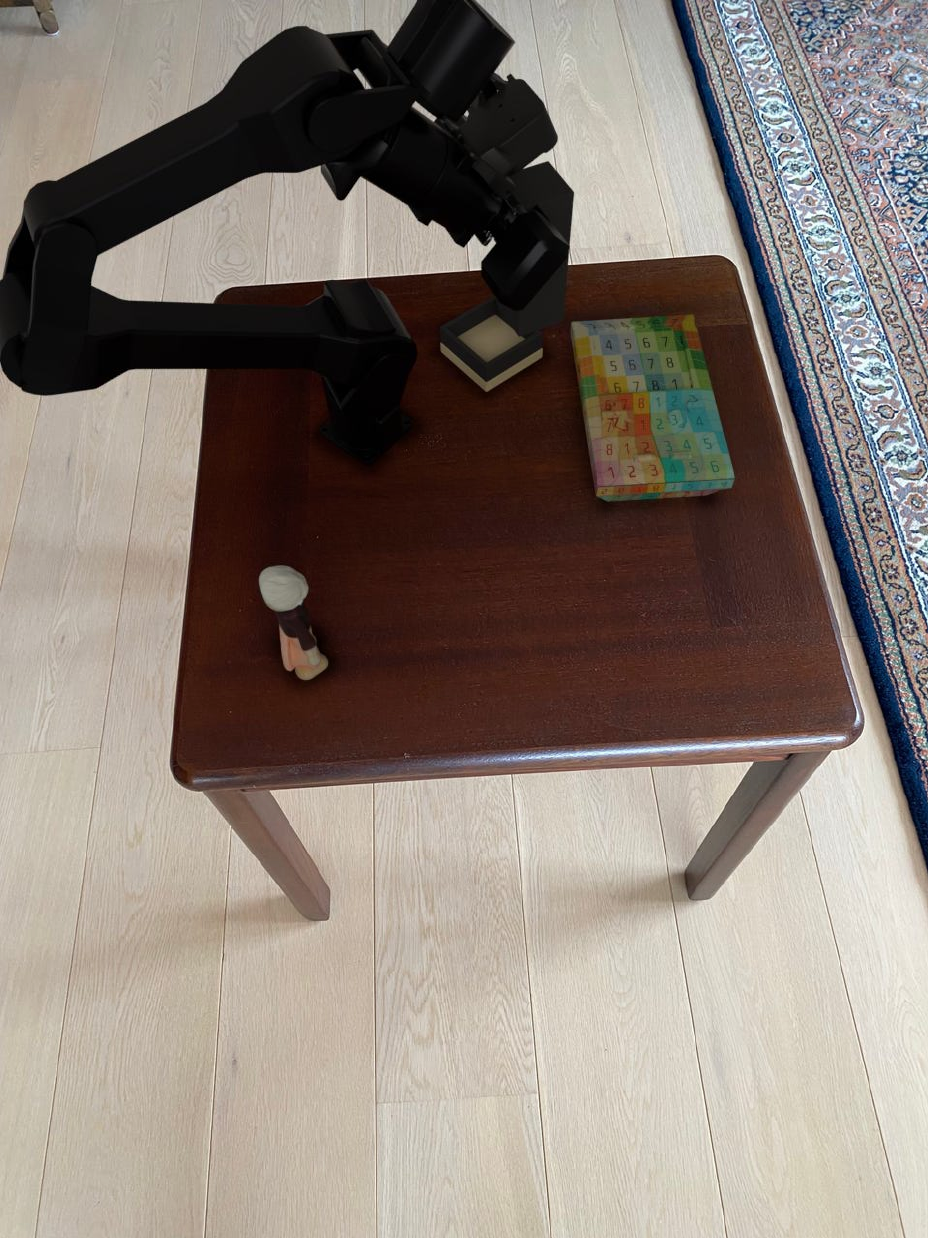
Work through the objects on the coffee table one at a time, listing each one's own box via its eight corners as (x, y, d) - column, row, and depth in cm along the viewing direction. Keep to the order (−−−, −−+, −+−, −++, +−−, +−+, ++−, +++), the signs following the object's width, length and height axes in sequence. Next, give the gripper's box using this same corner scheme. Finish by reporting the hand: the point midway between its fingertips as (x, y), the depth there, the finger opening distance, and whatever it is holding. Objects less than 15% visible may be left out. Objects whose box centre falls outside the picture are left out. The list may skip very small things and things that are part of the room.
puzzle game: (598, 480, 77) (572, 314, 87) (593, 513, 82) (568, 351, 92) (737, 471, 77) (695, 306, 87) (725, 505, 81) (686, 344, 92)
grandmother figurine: (263, 640, 76) (223, 555, 65) (302, 615, 77) (270, 527, 66) (313, 707, 73) (280, 629, 62) (353, 680, 74) (328, 599, 63)
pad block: (518, 337, 82) (522, 208, 71) (497, 305, 85) (497, 175, 73) (563, 321, 83) (574, 191, 72) (540, 290, 85) (548, 160, 74)
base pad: (486, 392, 89) (486, 368, 86) (440, 351, 92) (438, 326, 89) (542, 357, 91) (543, 332, 88) (496, 318, 94) (496, 293, 91)
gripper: (552, 136, 59) (673, 235, 70) (435, -2, 67) (560, 107, 79) (444, 275, 64) (573, 346, 76) (349, 131, 73) (477, 214, 84)
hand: (546, 247), depth 78 cm, fingers closed on pad block, 4 cm apart
